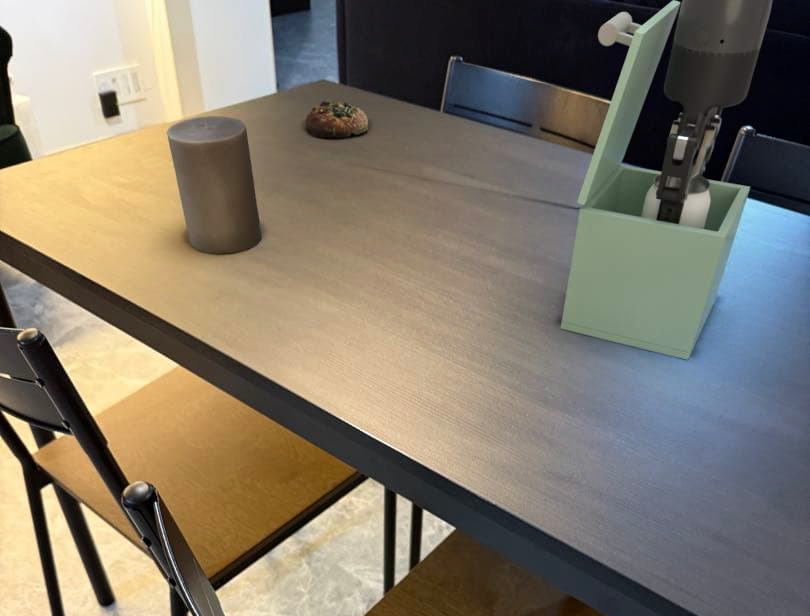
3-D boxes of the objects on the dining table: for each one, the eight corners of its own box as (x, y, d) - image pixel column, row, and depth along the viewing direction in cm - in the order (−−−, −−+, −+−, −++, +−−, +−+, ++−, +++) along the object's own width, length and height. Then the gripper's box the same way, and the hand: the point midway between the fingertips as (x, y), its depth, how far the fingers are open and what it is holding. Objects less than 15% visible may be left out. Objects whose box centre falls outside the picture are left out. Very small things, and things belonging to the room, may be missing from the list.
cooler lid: (680, 2, 73) (634, -13, 74) (643, 33, 64) (591, 16, 65) (622, 161, 84) (582, 146, 85) (584, 205, 76) (540, 188, 77)
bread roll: (298, 136, 130) (297, 103, 127) (315, 125, 138) (314, 93, 135) (362, 143, 129) (362, 109, 126) (374, 131, 137) (375, 99, 134)
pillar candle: (276, 237, 102) (261, 115, 92) (218, 262, 97) (195, 135, 87) (231, 217, 107) (212, 98, 96) (173, 239, 102) (146, 117, 91)
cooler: (713, 303, 90) (750, 186, 80) (687, 360, 81) (725, 236, 72) (596, 277, 94) (618, 164, 85) (560, 328, 86) (579, 208, 76)
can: (620, 300, 84) (644, 189, 76) (631, 275, 88) (654, 166, 80) (680, 311, 82) (711, 198, 74) (688, 284, 87) (718, 174, 78)
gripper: (747, 63, 62) (693, 259, 74) (774, 25, 71) (722, 205, 83) (655, 52, 65) (617, 244, 77) (692, 17, 74) (653, 193, 86)
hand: (672, 223), depth 80 cm, fingers closed on can, 6 cm apart
